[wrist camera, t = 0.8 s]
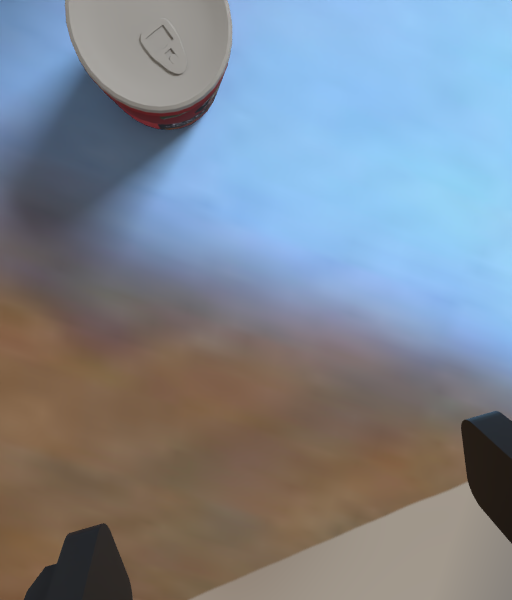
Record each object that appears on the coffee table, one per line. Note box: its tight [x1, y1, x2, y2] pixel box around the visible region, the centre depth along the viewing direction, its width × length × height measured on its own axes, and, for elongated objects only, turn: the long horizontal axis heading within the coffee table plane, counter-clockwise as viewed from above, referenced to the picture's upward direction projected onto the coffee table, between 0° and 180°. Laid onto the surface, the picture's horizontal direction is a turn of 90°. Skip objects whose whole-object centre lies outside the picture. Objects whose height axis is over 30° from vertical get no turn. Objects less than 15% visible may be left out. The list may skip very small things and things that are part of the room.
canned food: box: [65, 0, 232, 130], centre depth 28 cm, size 8×8×11 cm
